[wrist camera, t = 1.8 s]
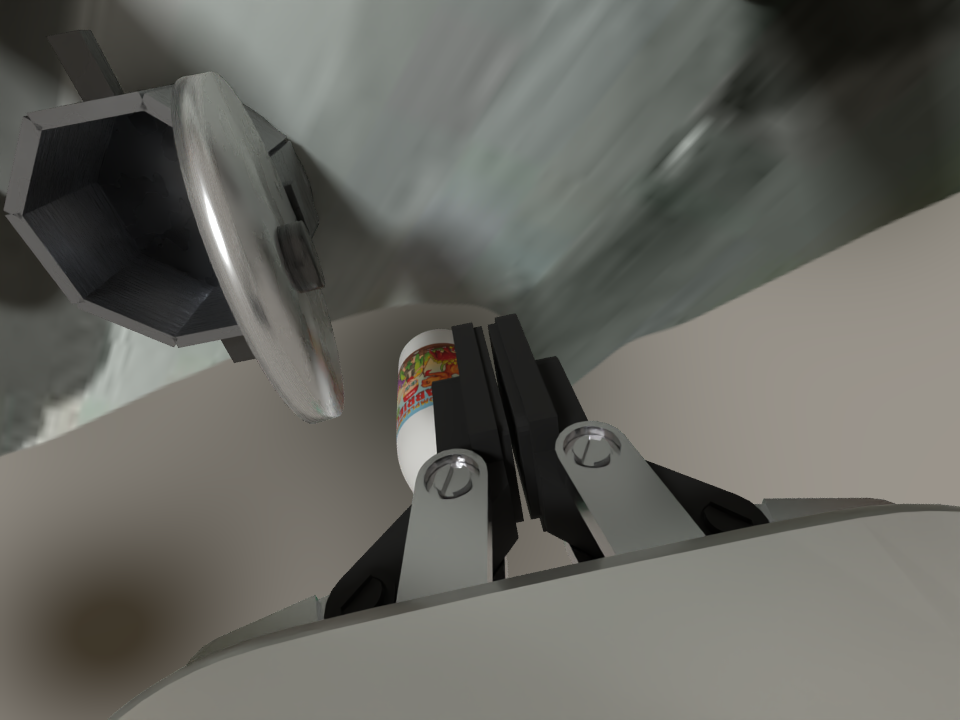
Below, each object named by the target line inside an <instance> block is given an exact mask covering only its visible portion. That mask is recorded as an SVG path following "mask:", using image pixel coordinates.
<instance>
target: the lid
mask: <svg viewBox="0 0 960 720" xmlns="http://www.w3.org/2000/svg"><path fill="white" fill-rule="evenodd" d="M171 119H172V126H173V133H174V140H175V145H176V150H177V155H178V159H179V164H180V169H181V172H182V176H183V180H184V183H185V187H186V191H187V194H188V198H189V201H190V204H191V207H192V210H193V213H194V217H195V220H196V223H197V226H198V229H199V232H200V235H201V237H202V240H203V243H204V245H205V248H206V251H207V254H208V256H209V259H210V262H211V264H212V267H213V269H214V272H215V274H216V276H217V279H218V281H219V284H220V286H221V289H222V291H223V293H224V296H225V298H226V300H227V302H228V304H229V307H230V309H231V311H232V313H233V315H234V317H235V320H236V322H237V324H238V326H239V328H240V330H241V332H242V334H243V336H244V338H245V340H246V342H247V343H248V345H249V347H250V349H251V351H252V353H253V355H254V356H255V358H256V360H257V362H258V363H259V365H260V367H261V368H262V370H263V372H264V374H265V375H266V377H267V378H268V380H269V381H270V383H271V384H272V386H273V388H274V389H275V391H276V392H277V393H278V394H279V396H280V397H281V398H282V400H283V401H284V402H285V404H286V405H287V406H288V407H289V408H290V409H291V410H292V411H293V412H294V414H295V415H297V416H298V417H299V418H301V419H302V420H303V421H305V422H307V423H309V424H316V423H319V422H322V421H326V420H329V419H332V418H335V417H338V416H339V415H341V413H342V411H343V406H344V386H343V379H342V371H341V366H340V361H339V355H338V350H337V346H336V342H335V337H334V334H333V329H332V325H331V322H330V318H329V314H328V311H327V307H326V304H325V301H324V297H323V294H322V291H321V288H324V287H325V281H324V276H323V272H322V269H321V265H320V262H319V259H318V256H317V253H316V250H315V247H314V245H313V242H312V240H311V237H310V235H309V232H308V230H307V228H306V226H305V224H304V223H303V221H297V219H296V216H295V214H294V211H293V209H292V206H291V204H290V201H289V199H288V197H287V194H286V192H285V189H284V187H283V185H282V182H281V180H280V178H279V176H278V173H277V171H276V169H275V166H274V164H273V162H272V160H271V158H270V156H269V154H268V151H267V149H266V147H265V145H264V143H263V141H262V139H261V137H260V135H259V133H258V131H257V130H256V128H255V126H254V124H253V122H252V120H251V118H250V117H249V115H248V113H247V111H246V110H245V108H244V106H243V105H242V103H241V102H240V100H239V98H238V97H237V95H236V94H235V92H234V91H233V90H232V88H231V87H230V86H229V84H228V83H227V82H226V81H225V80H224V79H223V78H222V77H221V76H220V75H219V74H217V73H215V72H206V73H200V74H195V75H190V76H185V77H181V78H179V79H178V80H176V82H175V84H174V86H173V88H172V96H171Z"/></svg>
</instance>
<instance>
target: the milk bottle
mask: <svg viewBox="0 0 960 720" xmlns="http://www.w3.org/2000/svg"><path fill="white" fill-rule="evenodd" d="M457 376H459V371H458V365H457V359H456V352H455V346H454V340H453V334H452V330H448V329H434V330H429V331H426V332H423V333H421V334H419V335H417V336H415V337H414V338H413V339H412V340H411V341H410V342H408V344H407V345H406V346H405V347H404V349H403V351H402V353H401V355H400V359H399V370H398V396H397V453H398V459H399V463H400V467H401V471H402V473H403V475H404V478H405V480H406V482H407V483H408V485H409V487H410V488H411V490H412V491H413V493H414V488H415V482H416V477H417V475H418V472H419V470H420V468H421V467H422V466H423V464H424V463H425V462H426V461H427V460H428V459H430V458H431V457H432V456H434V455H436V454H437V449H436V435H435V422H434V409H433V396H432V382H433V381H438V380H443V379H447V378H452V377H457Z"/></svg>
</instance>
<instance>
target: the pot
mask: <svg viewBox="0 0 960 720" xmlns="http://www.w3.org/2000/svg"><path fill="white" fill-rule="evenodd" d="M46 37H47V39H48V41H49V42H50V44H51V46H52V48H53V49H54V51H55V53H56V55H57V56H58V58H59V60H60V62H61V63H62V65H63V67H64V68H65V70H66V72H67V74H68V75H69V77H70V79H71V81H72V82H73V84H74V86H75V88H76V89H77V91H78V93H79V95H80V96H81V98H82V100H83V101H84V102H80V103H75V104H70V105H65V106H60V107H55V108H50V109H45V110H40V111H35V112H30V113H27V115H28V116H23V119H22V124H21V128H20V133H19V138H18V143H17V148H16V152H15V157H14V162H13V167H12V172H11V177H10V181H9V186H8V191H7V196H6V201H5V205H4V210H3V211H6V212H8V213H10V214H8V215H5V216H6V218H7V219H8V220H9V221H10V223H11V224H12V225H13V227H14V228H15V229H16V231H17V232H18V233H19V235H20V236H21V237H22V239H23V240H24V241H25V243H26V244H27V245H28V247H29V248H30V249H31V250H32V252H33V253H34V254H35V256H36V257H37V258H38V260H39V261H40V262H41V264H42V265H43V266H44V268H45V269H46V270H47V272H48V273H49V274H50V276H51V277H52V278H53V279H54V281H55V282H56V283H57V285H58V286H59V287H60V289H61V290H62V291H63V293H64V294H65V295H66V297H67V298H68V299H69V301H70V302H71V303H72V304H77V303H78V306H77V308H79V309H81V310H84V311H86V312H89V313H91V314H93V315H96V316H98V317H101V318H103V319H106V320H108V321H111V322H113V323H116V324H118V325H120V326H123V327H125V328H128V329H130V330H133V331H135V332H138V333H140V334H143V335H145V336H147V337H150V338H152V339H155V340H157V341H160V342H162V343H165V344H167V345H169V346H172V347H174V346H175V345H177V346H178V348H180V347H185V346H190V345H195V344H200V343H205V342H211V341H216V340H221V341H222V343H223V344H224V346H225V348H226V350H227V351H228V353H229V355H230V357H231V358H232V360H233V362H234V363H236V362H241V361H246V360H251V359H256V358H255V356H254V355H253V353H252V351H251V349H250V347H249V345H248V343H247V342H246V340H245V338H244V336H243V334H242V332H241V330H240V328H239V326H238V324H237V322H236V320H235V317H234V315H233V313H232V311H231V309H230V307H229V304H228V302H227V300H226V298H225V296H224V293H223V291H222V289H221V286H220V284H219V281H218V279H217V276H216V274H215V272H214V269H213V267H212V264H211V262H210V259H209V256H208V254H207V251H206V248H205V245H204V243H203V240H202V237H201V235H200V232H199V229H198V226H197V223H196V220H195V217H194V213H193V210H192V207H191V204H190V201H189V198H188V194H187V191H186V187H185V183H184V180H183V176H182V172H181V169H180V164H179V159H178V155H177V150H176V145H175V140H174V133H173V126H172V119H171V96H172V88H173V86H174V84H172V85H167V86H162V87H156V88H151V89H146V90H141V91H136V92H130V93H125V94H124V92H123V91H122V89H121V87H120V85H119V83H118V81H117V79H116V77H115V75H114V73H113V72H112V70H111V68H110V66H109V64H108V62H107V60H106V58H105V56H104V55H103V53H102V51H101V49H100V47H99V45H98V43H97V41H96V39H95V37H94V36H93V34H92V32H91V30H77V31H72V32H66V33H61V34H56V35H51V36H46ZM242 105H243V106H244V108H245V110H246V111H247V113H248V115H249V117H250V118H251V120H252V122H253V124H254V126H255V128H256V130H257V131H258V133H259V135H260V137H261V139H262V141H263V143H264V145H265V147H266V149H267V151H268V154H269V156H270V158H271V160H272V162H273V164H274V166H275V169H276V171H277V173H278V176H279V178H280V180H281V182H282V185H283V187H284V189H285V192H286V194H287V197H288V199H289V201H290V204H291V206H292V209H293V211H294V214H295V216H296V219H297V221H303V223H304V224H305V226H306V228H307V230H308V232H309V235H310V237H311V239H312V237H313V235H314V233H315V231H316V229H317V227H318V225H319V223H318V221H319V218H318V215H317V213H316V210H315V207H314V203H313V196H312V191H311V187H310V184H309V180H308V178H307V175H306V173H305V171H304V168H303V166H302V164H301V162H300V161H299V159H298V157H297V155H296V153H295V152H294V149H293V147H292V144H291V141H286V138H287V136H286V135H284V134H282V133H281V132H279V131H278V130H276V129H275V128H274V127H273V126H272V125H271V124H270V123H269V122H268V121H267V120H265V119H264V118H263V117H262V116H260V115H259V114H258V113H256V112H255V111H254V110H252V109H251V108H249V107H248V106H246V105H244V104H242Z"/></svg>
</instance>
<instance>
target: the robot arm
mask: <svg viewBox="0 0 960 720" xmlns="http://www.w3.org/2000/svg"><path fill="white" fill-rule="evenodd" d="M488 330H489V336H490V341H491V347H492V353H493V359H494V365H495V371H496V377H497V382H498V387H497V383H496V379H495V375H494V372H493V368H492V364H491V360H490V357H489V353H488V349H487V346H486V342H485V338H484V335H483V330H482V327H481V326H480V327H475V328H473V324H472V323H467V324H462V325H457V326H452V334H453V340H454V346H455V352H456V359H457V365H458V371H459V376H457V377H452V378H447V379H443V380H438V381H433V382H432V396H433V409H434V422H435V435H436V449H437V454H436V455H434V456H432V457H431V458H430V459H428V460H427V461H426V462H425V463H424V464H423V466H422V467H421V468H420V470H419V472H418V475H417V477H416V482H415V488H414V495H413V501H412V505H411V506H410V507H409V508H408V509H407V510H406V511H405V512H404V513H403V514H402V515H401V516H400V517H399V518H398V519H397V520H396V521H395V522H394V523H393V525H392V526H391V527H390V528H389V529H388V530H387V531H386V532H385V533H384V534H383V535H382V536H381V537H380V538H379V539H378V540H377V541H376V542H375V544H374V545H373V546H372V547H371V548H370V549H369V550H368V551H367V552H366V553H365V554H364V555H363V556H362V557H361V558H360V559H359V560H358V561H357V562H356V563H355V565H354V566H353V567H352V568H351V569H350V570H349V571H348V572H347V573H346V574H345V575H344V576H343V577H342V578H341V579H340V580H339V582H338V583H337V584H336V586H335V587H334V588H333V590H332V591H331V593H330V595H328V596H325V597H323V598H321V599H319V600H318V598H317V597H316V595H314V596H312V597H309V598H307V599H305V600H303V601H300V602H298V603H296V604H293V605H291V606H289V607H287V608H284V609H282V610H280V611H278V612H275V613H273V614H271V615H269V616H266V617H264V618H262V619H260V620H258V621H255V622H253V623H250V624H248V625H246V626H244V627H241V628H239V629H237V630H235V631H232V632H230V633H228V634H226V635H223V636H221V637H219V638H217V639H215V640H213V641H212V642H210V643H208V644H207V645H205V646H204V647H202V648H201V649H200V650H199V651H198V652H197V653H196V654H195V655H194V656H193V658H191V659H190V661H189V662H188V664H187V665H186V666H185V667H183V668H181V669H179V670H177V671H176V672H174V673H172V674H171V675H169V676H167V677H166V678H164V679H162V680H161V681H159V682H157V683H156V684H154V685H152V686H151V687H149V688H148V689H146V690H145V691H143V692H142V693H140V694H139V695H137V696H136V697H135V698H134V699H132V700H130V701H129V702H128V703H127V704H125V705H124V706H123V707H122V708H120V709H119V710H118V711H117V712H115V713H114V714H113V715H112V716H111V717H110V718H109V719H107V720H960V507H958V506H949V505H941V504H895V503H892V502H889V501H886V500H882V499H874V498H796V499H795V498H792V499H791V498H788V499H787V498H785V499H763V502H762V504H753V503H751V502H750V501H748V500H746V499H744V498H742V497H740V496H738V495H736V494H733V493H731V492H728V491H726V490H723V489H720V488H717V487H715V486H712V485H710V484H707V483H704V482H702V481H699V480H696V479H694V478H691V477H689V476H686V475H683V474H681V473H678V472H675V471H673V470H670V469H667V468H665V467H662V466H660V465H657V464H654V463H651V462H649V461H646V460H644V458H643V457H642V456H641V455H640V454H639V452H638V451H637V450H636V449H635V447H634V446H633V445H632V444H631V442H630V441H629V440H628V439H627V437H626V436H625V435H624V434H623V433H622V432H621V431H620V430H619V429H617V428H616V427H614V426H612V425H610V424H607V423H603V422H599V421H588V420H587V417H586V415H585V413H584V411H583V409H582V407H581V405H580V403H579V401H578V399H577V397H576V395H575V393H574V391H573V388H572V386H571V384H570V382H569V380H568V378H567V376H566V374H565V372H564V370H563V368H562V365H561V363H560V361H559V360H558V358H557V357H556V356H554V357H549V358H544V359H539V360H535V359H534V357H533V354H532V352H531V349H530V347H529V344H528V342H527V340H526V337H525V335H524V332H523V330H522V327H521V325H520V322H519V320H518V317H517V315H516V314H511V315H506V316H501V317H496V318H495V324H490V325H488ZM498 388H499V390H498ZM511 445H512V447H511ZM512 449H513V453H514V457H515V461H516V464H517V468H518V472H519V476H520V480H521V484H522V487H523V491H524V495H525V498H526V503H527V506H528V510H529V514H530V517H531V519H536V518H540V521H541V525H542V528H543V531H544V532H545V531H547V532H549V533H551V534H552V535H554V536H556V537H558V538H560V539H562V540H564V545H565V549H566V551H567V554H568V556H569V558H570V560H571V562H572V565H567V566H562V567H558V568H553V569H549V570H544V571H539V572H535V573H530V574H526V575H521V576H516V577H512V578H508V563H507V558H506V555H507V553H508V552H509V550H510V549H511V548H512V546H513V545H514V544H515V542H516V541H517V539H518V532H517V527H516V523H517V522H522V521H524V519H523V513H522V507H521V501H520V495H519V489H518V483H517V477H516V471H515V465H514V459H513V453H512Z"/></svg>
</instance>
